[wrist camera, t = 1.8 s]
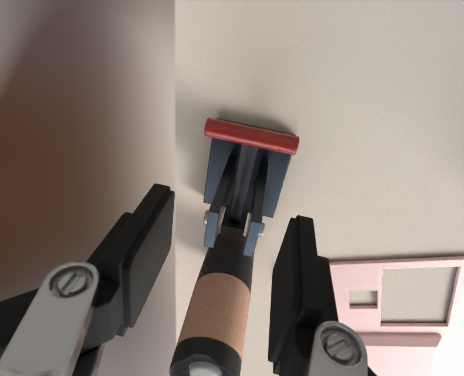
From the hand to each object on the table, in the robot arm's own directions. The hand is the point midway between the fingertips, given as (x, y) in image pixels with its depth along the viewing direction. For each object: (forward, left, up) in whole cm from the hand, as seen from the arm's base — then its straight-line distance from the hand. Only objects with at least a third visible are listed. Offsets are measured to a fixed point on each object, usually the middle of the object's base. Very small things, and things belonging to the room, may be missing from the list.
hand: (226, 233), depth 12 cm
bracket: (+11, -4, -27) cm, 30 cm away
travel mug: (+25, -9, -28) cm, 38 cm away
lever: (+5, -2, -14) cm, 15 cm away
